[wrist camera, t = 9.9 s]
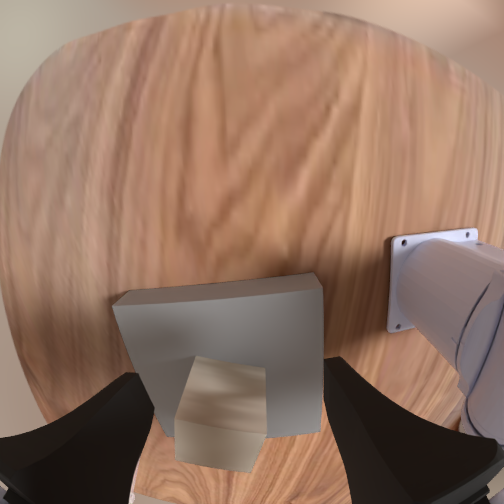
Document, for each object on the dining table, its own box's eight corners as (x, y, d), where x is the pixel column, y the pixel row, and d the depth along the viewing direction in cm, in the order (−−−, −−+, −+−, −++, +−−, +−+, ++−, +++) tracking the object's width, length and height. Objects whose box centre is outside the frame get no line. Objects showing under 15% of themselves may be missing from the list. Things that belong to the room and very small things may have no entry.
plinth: (313, 272, 19) (322, 287, 16) (315, 409, 22) (320, 431, 19) (129, 290, 20) (111, 305, 17) (173, 415, 23) (166, 436, 20)
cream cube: (265, 367, 17) (267, 434, 12) (252, 411, 19) (250, 472, 13) (196, 355, 17) (174, 418, 12) (192, 401, 18) (175, 460, 13)
